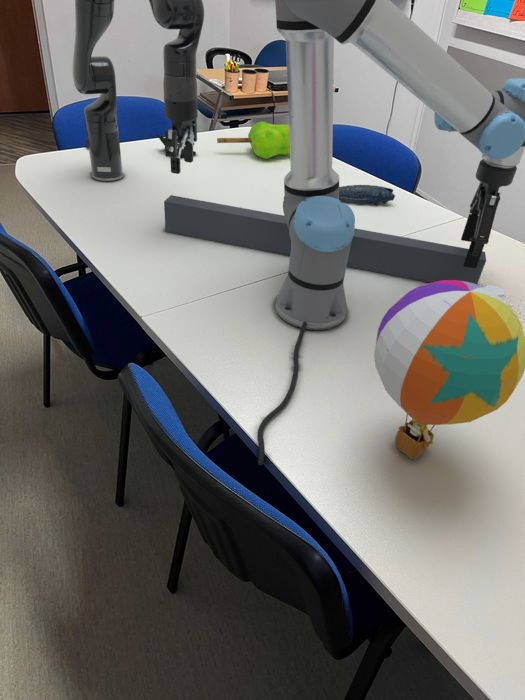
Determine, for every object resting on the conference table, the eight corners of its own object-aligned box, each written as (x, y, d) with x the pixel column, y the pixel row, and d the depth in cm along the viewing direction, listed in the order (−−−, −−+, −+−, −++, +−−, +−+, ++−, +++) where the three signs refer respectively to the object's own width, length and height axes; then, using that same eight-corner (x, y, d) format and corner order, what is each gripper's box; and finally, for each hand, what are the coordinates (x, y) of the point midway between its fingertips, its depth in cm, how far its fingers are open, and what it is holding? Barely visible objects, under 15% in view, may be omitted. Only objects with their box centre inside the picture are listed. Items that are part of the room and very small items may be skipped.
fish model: (393, 208, 159) (397, 192, 156) (325, 201, 160) (327, 185, 157) (391, 200, 165) (395, 185, 161) (325, 193, 165) (328, 178, 162)
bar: (473, 282, 128) (485, 251, 123) (474, 291, 125) (486, 260, 119) (171, 224, 140) (170, 194, 135) (165, 231, 137) (163, 201, 131)
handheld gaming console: (200, 148, 184) (184, 127, 176) (190, 164, 183) (174, 144, 175) (177, 144, 191) (162, 124, 182) (167, 160, 189) (151, 141, 181)
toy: (324, 440, 84) (359, 279, 65) (398, 390, 94) (447, 240, 76) (424, 525, 73) (502, 362, 54) (495, 458, 83) (581, 302, 65)
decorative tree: (214, 118, 187) (294, 118, 193) (214, 147, 194) (292, 146, 199) (220, 132, 174) (307, 132, 179) (220, 164, 180) (304, 162, 185)
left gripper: (177, 87, 123) (178, 156, 133) (152, 100, 112) (156, 174, 122) (207, 91, 122) (206, 160, 132) (184, 105, 111) (186, 179, 121)
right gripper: (476, 142, 119) (450, 228, 132) (484, 180, 100) (453, 275, 113) (511, 147, 117) (481, 233, 131) (525, 186, 98) (488, 282, 112)
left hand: (182, 167), depth 127 cm, fingers open, 8 cm apart
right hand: (468, 253), depth 122 cm, fingers open, 13 cm apart
